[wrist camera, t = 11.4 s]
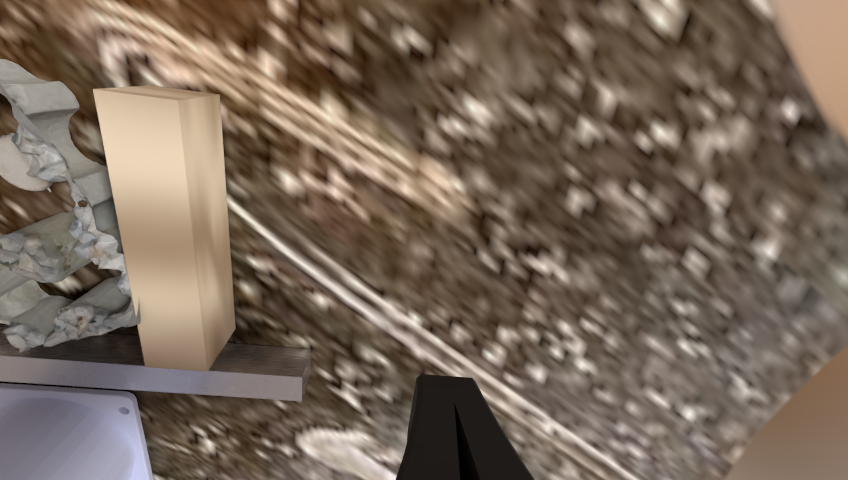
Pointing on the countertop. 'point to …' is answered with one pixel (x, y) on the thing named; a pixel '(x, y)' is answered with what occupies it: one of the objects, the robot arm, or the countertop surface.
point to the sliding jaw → (171, 219)
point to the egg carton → (57, 224)
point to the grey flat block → (125, 369)
